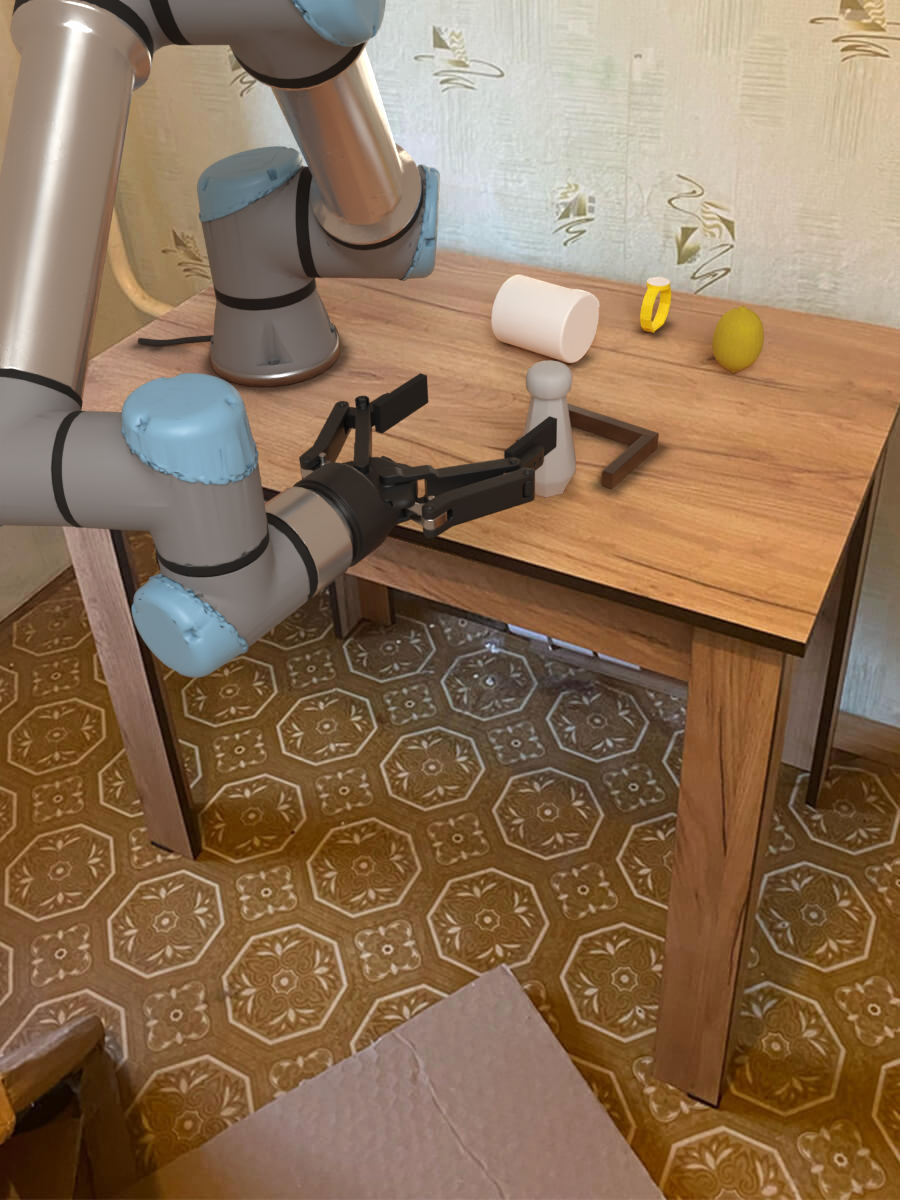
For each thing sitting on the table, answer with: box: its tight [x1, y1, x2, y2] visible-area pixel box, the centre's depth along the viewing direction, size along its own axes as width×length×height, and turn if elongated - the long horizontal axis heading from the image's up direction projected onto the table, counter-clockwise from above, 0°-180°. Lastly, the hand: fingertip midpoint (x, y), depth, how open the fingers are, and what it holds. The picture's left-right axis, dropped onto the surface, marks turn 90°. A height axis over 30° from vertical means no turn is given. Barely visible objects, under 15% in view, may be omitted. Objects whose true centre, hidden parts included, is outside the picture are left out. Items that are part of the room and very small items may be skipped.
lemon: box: [711, 305, 765, 374], centre depth 123 cm, size 6×6×8 cm
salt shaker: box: [522, 359, 577, 498], centre depth 105 cm, size 6×6×13 cm
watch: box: [639, 276, 673, 334], centre depth 133 cm, size 6×3×6 cm, turn 147°
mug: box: [490, 274, 601, 364], centre depth 130 cm, size 12×10×8 cm
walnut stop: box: [515, 402, 660, 490], centre depth 113 cm, size 11×9×2 cm
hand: (486, 408), depth 95 cm, fingers open, 13 cm apart
